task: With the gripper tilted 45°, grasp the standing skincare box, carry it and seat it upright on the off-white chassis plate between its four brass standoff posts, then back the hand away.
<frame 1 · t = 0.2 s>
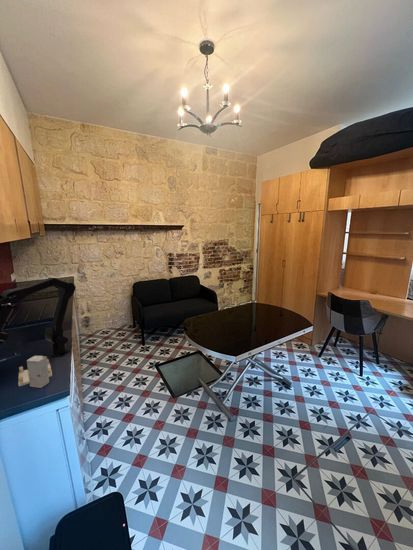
skincare box: (40, 384, 101), on the countertop
chassis: (35, 374, 108), on the countertop
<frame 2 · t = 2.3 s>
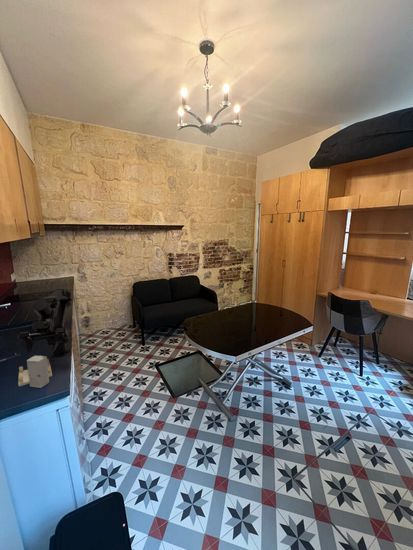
hand: (41, 352, 103), 12 cm above the countertop, tool tilted 45°, fingers open, 9 cm apart
nothing on the countertop moved.
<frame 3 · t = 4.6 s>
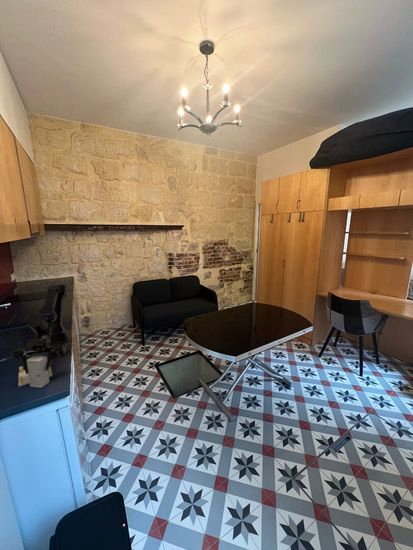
hand: (36, 372, 98), 7 cm above the countertop, tool tilted 45°, fingers closed on skincare box, 7 cm apart
skincare box: (40, 384, 101), on the countertop, touching gripper
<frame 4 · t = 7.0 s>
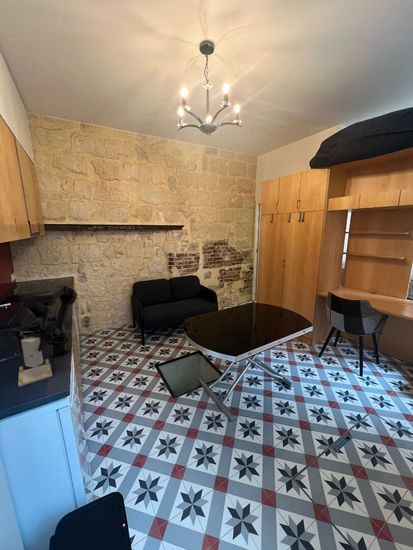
hand: (30, 352, 101), 13 cm above the countertop, tool tilted 45°, fingers closed on skincare box, 7 cm apart
skincare box: (35, 364, 104), point 6 cm above the countertop, touching gripper
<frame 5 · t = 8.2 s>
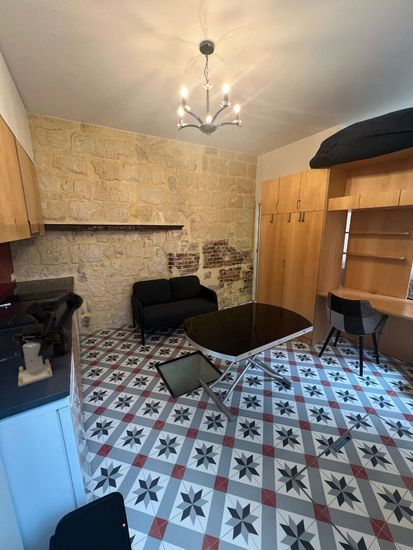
hand: (30, 356, 105), 10 cm above the countertop, tool tilted 45°, fingers closed on skincare box, 7 cm apart
skincare box: (35, 369, 107), point 3 cm above the countertop, touching gripper
when the fingers open (9 cm above the countertop, at t = 9.4 s): skincare box stays where it is, resting on chassis.
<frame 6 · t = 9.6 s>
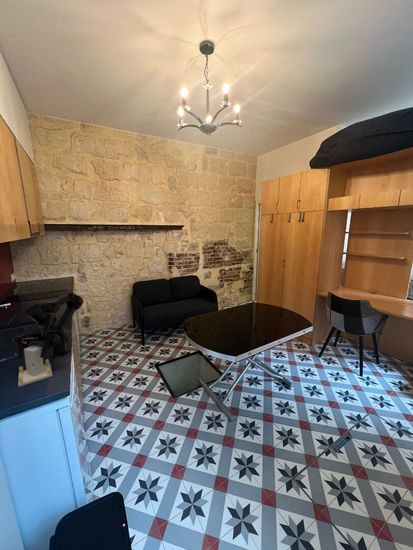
hand: (30, 358, 105), 9 cm above the countertop, tool tilted 45°, fingers open, 9 cm apart
skincare box: (36, 373, 108), point 1 cm above the countertop, touching chassis
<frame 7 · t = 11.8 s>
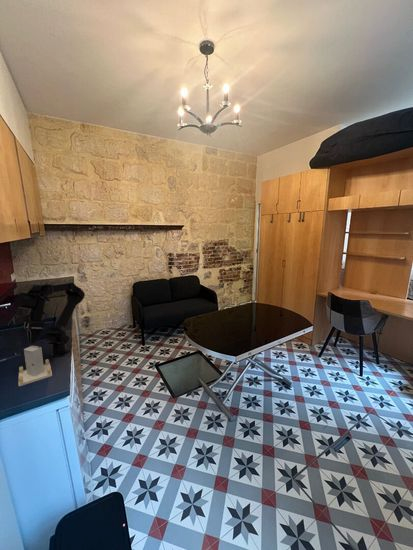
hand: (30, 343, 110), 14 cm above the countertop, tool tilted 25°, fingers open, 9 cm apart
nothing on the countertop moved.
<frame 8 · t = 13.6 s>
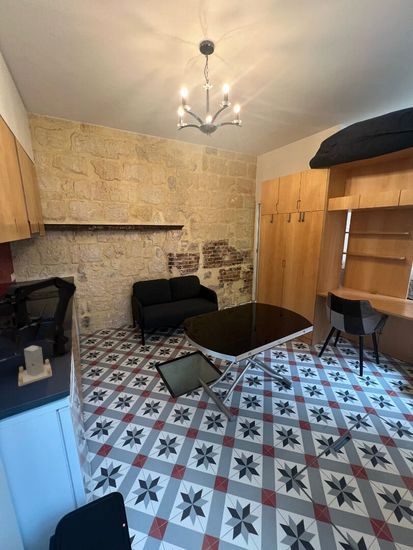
hand: (26, 343, 111), 13 cm above the countertop, tool pointing down, fingers open, 9 cm apart
nothing on the countertop moved.
at the end: skincare box 0.3 cm off-centre on the chassis, point 0.8 cm above the chassis's base; skincare box tilted 0°; the gripper is holding nothing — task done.
